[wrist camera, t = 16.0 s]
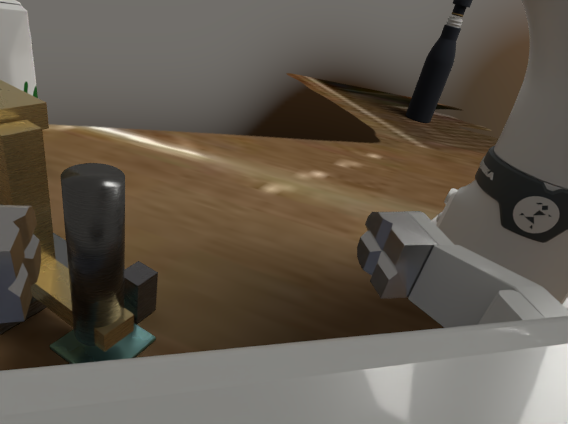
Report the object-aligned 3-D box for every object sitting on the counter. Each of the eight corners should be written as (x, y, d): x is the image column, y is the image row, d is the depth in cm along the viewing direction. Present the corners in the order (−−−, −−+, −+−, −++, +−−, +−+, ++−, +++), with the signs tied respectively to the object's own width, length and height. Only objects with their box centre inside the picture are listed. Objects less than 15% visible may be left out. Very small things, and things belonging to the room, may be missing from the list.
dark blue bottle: (419, 123, 102) (471, -11, 87) (400, 113, 106) (446, -16, 91) (434, 122, 106) (487, -6, 90) (416, 113, 110) (462, -11, 95)
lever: (-55, 256, 31) (-103, 86, 25) (19, 228, 36) (-4, 77, 29) (83, 369, 26) (69, 188, 19) (150, 319, 30) (159, 158, 23)
